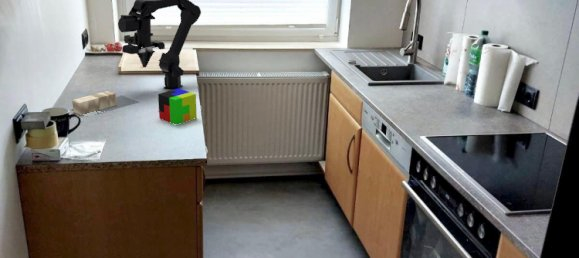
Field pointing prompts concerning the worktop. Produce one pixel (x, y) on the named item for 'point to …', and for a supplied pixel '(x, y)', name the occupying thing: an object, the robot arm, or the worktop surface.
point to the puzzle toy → (177, 106)
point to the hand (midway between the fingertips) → (144, 67)
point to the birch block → (94, 102)
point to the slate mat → (119, 103)
